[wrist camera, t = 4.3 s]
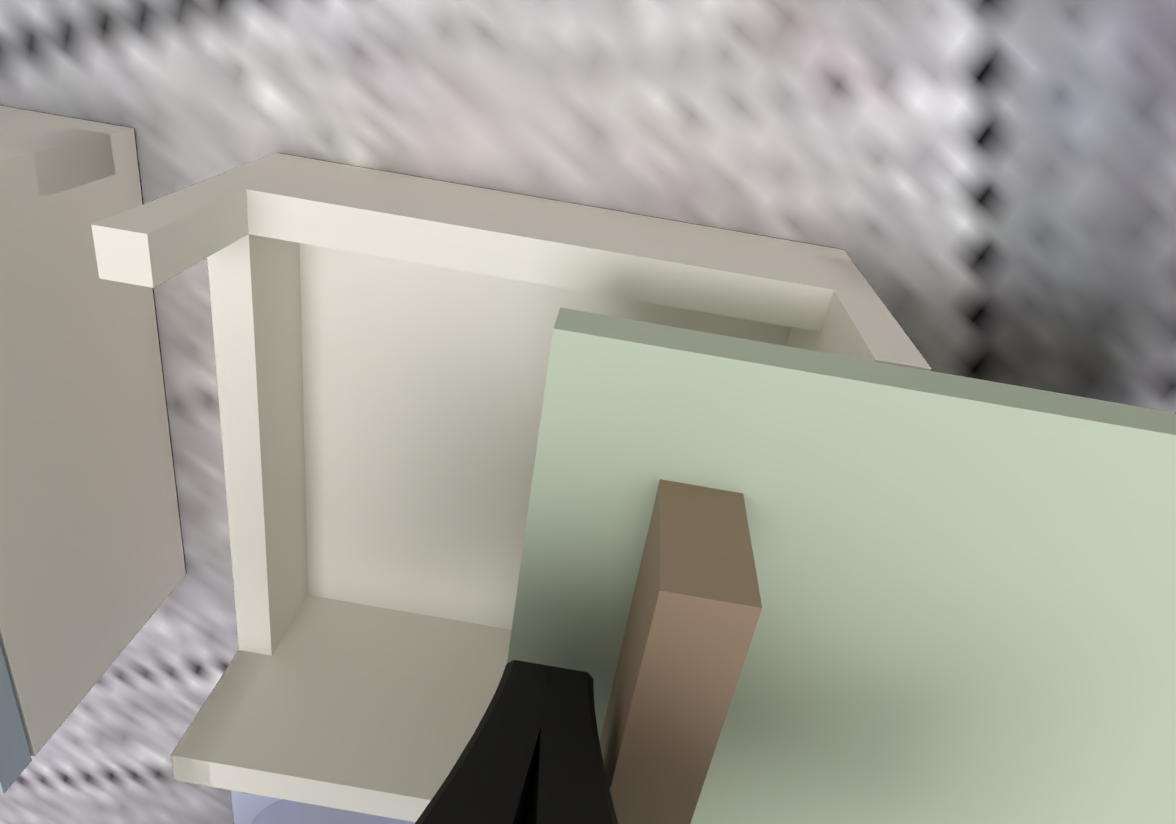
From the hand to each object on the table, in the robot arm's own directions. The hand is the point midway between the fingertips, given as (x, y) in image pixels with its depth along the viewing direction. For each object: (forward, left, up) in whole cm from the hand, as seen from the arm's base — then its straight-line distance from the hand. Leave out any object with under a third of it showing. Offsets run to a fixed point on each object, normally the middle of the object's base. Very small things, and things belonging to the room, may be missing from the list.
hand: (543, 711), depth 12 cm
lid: (0, -5, -2) cm, 6 cm away
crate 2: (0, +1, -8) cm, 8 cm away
